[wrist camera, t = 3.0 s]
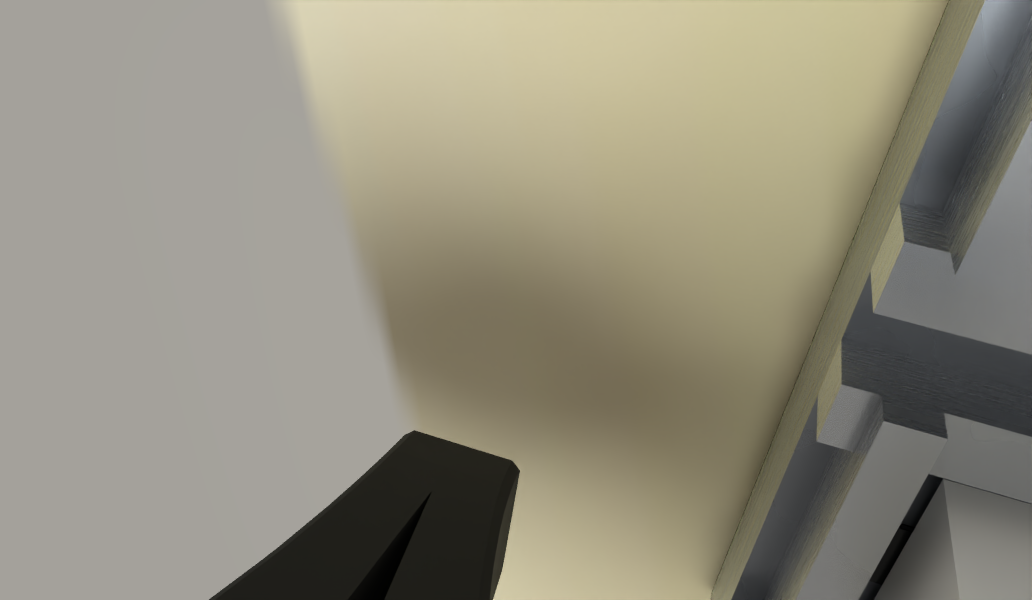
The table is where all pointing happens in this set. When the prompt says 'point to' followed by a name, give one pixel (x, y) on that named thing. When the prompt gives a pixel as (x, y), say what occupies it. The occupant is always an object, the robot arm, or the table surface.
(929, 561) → the fader
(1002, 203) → the grey divided tray
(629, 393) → the table surface
